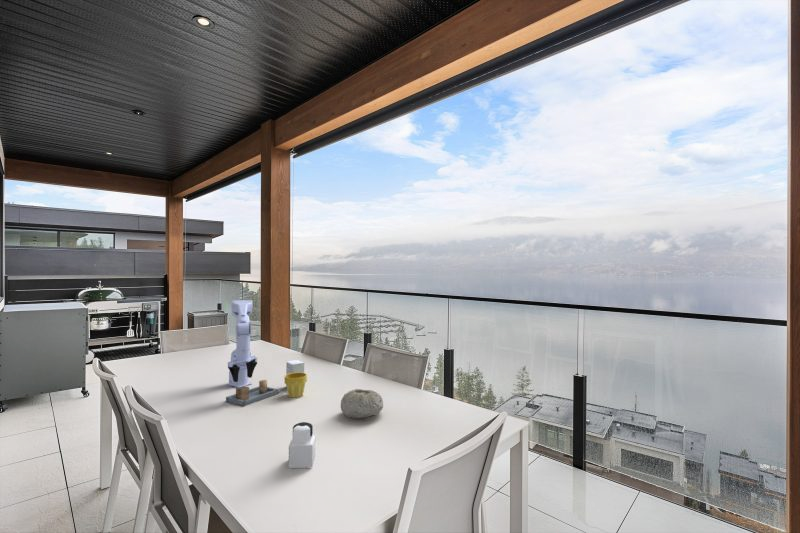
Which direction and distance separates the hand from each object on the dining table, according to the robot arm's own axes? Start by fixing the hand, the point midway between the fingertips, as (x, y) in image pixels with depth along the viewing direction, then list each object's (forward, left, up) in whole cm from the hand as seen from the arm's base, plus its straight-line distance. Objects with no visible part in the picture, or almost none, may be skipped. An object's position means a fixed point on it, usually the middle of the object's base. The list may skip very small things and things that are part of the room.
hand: (242, 379), depth 175 cm
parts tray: (0, +6, -10) cm, 12 cm away
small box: (+6, +27, -10) cm, 29 cm away
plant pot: (+15, +18, -10) cm, 26 cm away
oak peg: (0, +12, -9) cm, 15 cm away
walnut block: (0, 0, -9) cm, 9 cm away
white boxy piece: (+62, -28, -10) cm, 69 cm away
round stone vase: (+56, +14, -10) cm, 59 cm away
